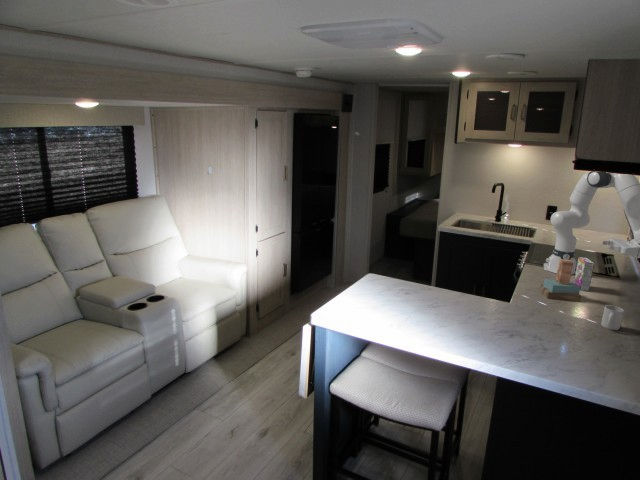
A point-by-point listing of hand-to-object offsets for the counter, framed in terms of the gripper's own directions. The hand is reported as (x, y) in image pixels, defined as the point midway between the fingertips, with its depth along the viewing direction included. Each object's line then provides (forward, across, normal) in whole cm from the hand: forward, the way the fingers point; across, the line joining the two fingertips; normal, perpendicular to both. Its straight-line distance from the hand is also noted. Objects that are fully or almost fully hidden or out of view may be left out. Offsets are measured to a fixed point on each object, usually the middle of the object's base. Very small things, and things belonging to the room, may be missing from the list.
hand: (605, 244), depth 237 cm
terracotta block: (+18, +6, +21) cm, 29 cm away
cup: (+7, +44, +28) cm, 52 cm away
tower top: (+18, +6, +26) cm, 32 cm away
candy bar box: (+3, -14, +29) cm, 32 cm away
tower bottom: (+19, +6, +30) cm, 35 cm away
